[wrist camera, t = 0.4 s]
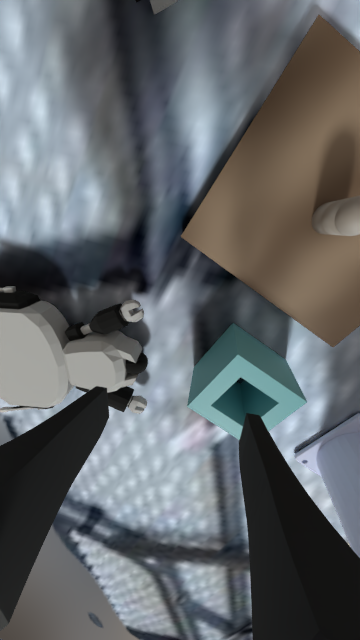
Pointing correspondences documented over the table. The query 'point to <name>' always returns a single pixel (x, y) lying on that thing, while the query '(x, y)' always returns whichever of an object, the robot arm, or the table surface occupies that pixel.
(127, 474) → the table surface
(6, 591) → the robot arm
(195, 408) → the collar
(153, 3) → the hinge
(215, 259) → the stub base
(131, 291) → the table surface
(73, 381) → the robot toy
